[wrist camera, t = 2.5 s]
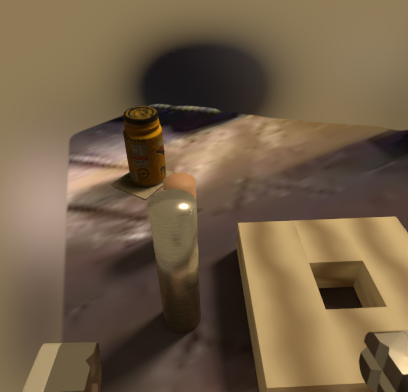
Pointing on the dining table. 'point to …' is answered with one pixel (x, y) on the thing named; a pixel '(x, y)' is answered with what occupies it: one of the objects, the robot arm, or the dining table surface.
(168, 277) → the tall metal pin
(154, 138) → the condiment
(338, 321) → the hole block
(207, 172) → the dining table surface
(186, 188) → the short terracotta pin
